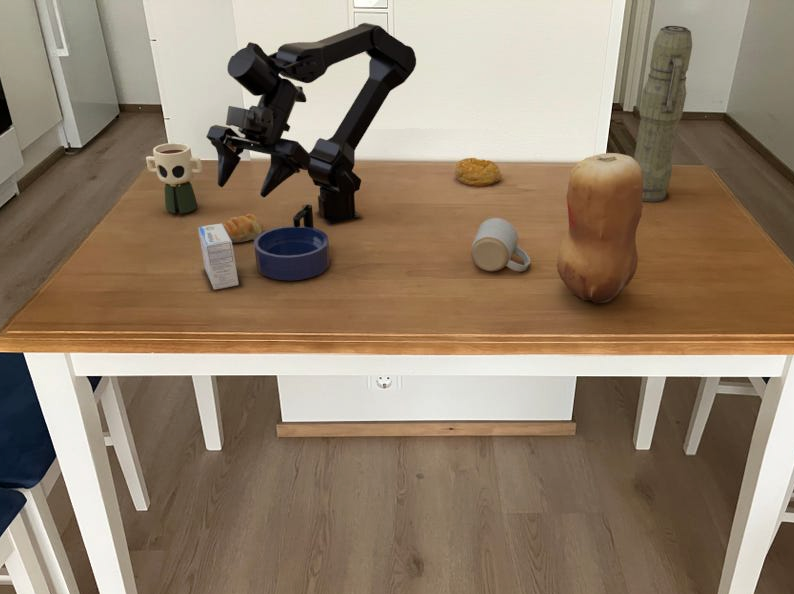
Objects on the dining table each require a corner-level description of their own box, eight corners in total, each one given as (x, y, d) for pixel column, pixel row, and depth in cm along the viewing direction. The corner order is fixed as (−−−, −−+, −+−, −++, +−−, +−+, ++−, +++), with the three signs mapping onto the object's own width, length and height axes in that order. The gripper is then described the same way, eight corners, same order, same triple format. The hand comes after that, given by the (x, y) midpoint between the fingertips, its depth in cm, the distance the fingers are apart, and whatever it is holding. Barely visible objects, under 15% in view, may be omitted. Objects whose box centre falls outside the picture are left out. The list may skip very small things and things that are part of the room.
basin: (312, 245, 148) (310, 220, 146) (341, 272, 139) (340, 247, 136) (247, 259, 143) (243, 234, 140) (272, 289, 133) (269, 263, 131)
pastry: (220, 249, 146) (217, 230, 143) (205, 237, 150) (202, 219, 148) (265, 237, 151) (263, 218, 148) (249, 225, 155) (247, 207, 153)
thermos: (655, 183, 180) (684, 22, 160) (675, 203, 170) (709, 34, 151) (618, 184, 179) (644, 22, 159) (636, 204, 169) (665, 34, 150)
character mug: (150, 216, 157) (137, 153, 150) (160, 202, 163) (149, 141, 156) (204, 217, 158) (194, 155, 150) (212, 203, 163) (203, 143, 156)
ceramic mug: (468, 271, 141) (470, 232, 136) (476, 252, 147) (479, 214, 143) (526, 279, 139) (530, 240, 135) (532, 259, 146) (536, 222, 141)
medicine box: (239, 286, 134) (232, 240, 129) (213, 291, 132) (205, 244, 128) (229, 266, 140) (223, 222, 135) (204, 271, 138) (197, 226, 134)
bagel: (502, 188, 175) (503, 167, 172) (453, 187, 175) (454, 166, 172) (500, 172, 183) (501, 152, 181) (454, 171, 183) (454, 151, 181)
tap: (305, 242, 149) (301, 200, 144) (322, 244, 149) (319, 202, 144) (289, 259, 143) (285, 215, 138) (308, 261, 143) (304, 218, 138)
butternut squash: (550, 277, 140) (566, 140, 126) (624, 280, 140) (648, 143, 126) (557, 316, 128) (575, 170, 114) (638, 319, 128) (666, 174, 114)
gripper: (205, 77, 133) (170, 159, 130) (295, 93, 126) (260, 180, 124) (240, 112, 143) (209, 188, 141) (325, 128, 136) (293, 209, 134)
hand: (240, 191), depth 135 cm, fingers open, 9 cm apart
